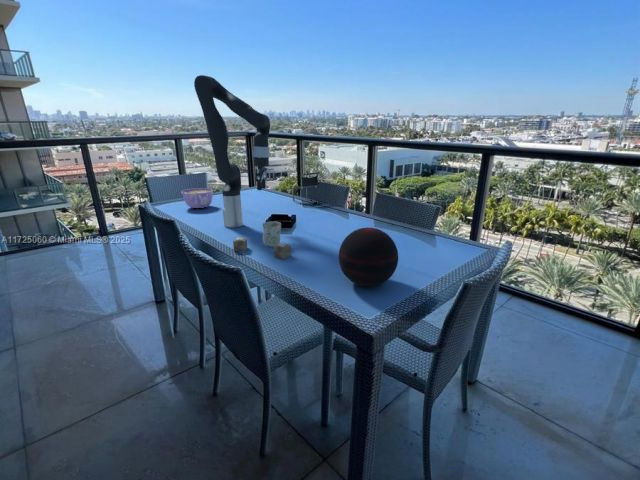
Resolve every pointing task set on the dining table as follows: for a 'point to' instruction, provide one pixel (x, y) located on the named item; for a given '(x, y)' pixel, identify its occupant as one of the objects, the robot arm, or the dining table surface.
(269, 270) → the dining table surface
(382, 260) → the decorative orb
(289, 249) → the walnut block right
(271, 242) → the mug
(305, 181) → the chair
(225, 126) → the robot arm
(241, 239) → the walnut block left
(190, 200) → the bowl of food
